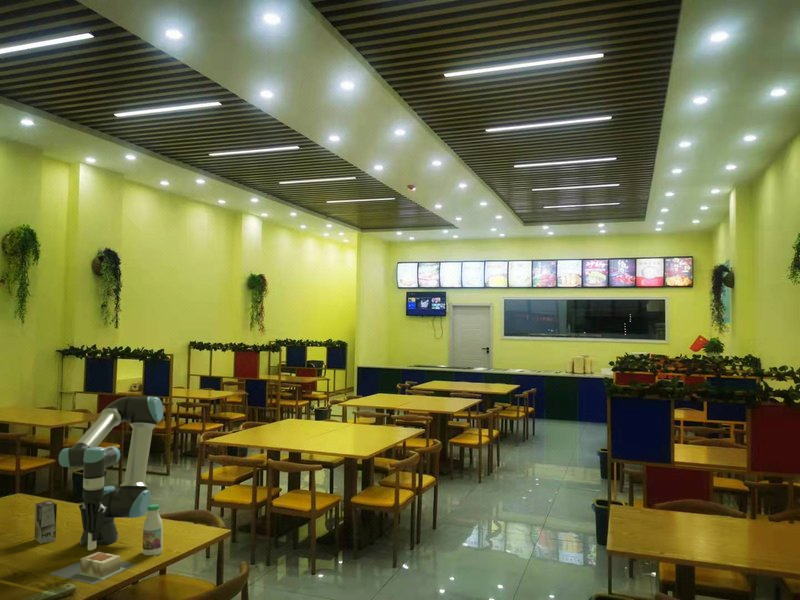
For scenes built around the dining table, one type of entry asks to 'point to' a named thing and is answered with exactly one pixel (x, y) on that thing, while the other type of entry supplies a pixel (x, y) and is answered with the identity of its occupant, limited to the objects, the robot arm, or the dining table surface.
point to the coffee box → (45, 521)
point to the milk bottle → (153, 532)
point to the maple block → (100, 564)
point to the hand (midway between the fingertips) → (92, 548)
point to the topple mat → (75, 573)
